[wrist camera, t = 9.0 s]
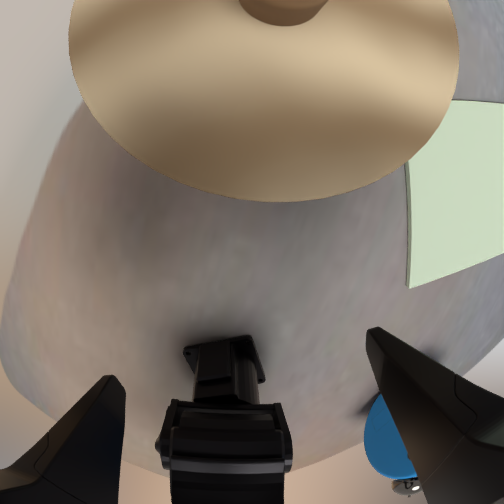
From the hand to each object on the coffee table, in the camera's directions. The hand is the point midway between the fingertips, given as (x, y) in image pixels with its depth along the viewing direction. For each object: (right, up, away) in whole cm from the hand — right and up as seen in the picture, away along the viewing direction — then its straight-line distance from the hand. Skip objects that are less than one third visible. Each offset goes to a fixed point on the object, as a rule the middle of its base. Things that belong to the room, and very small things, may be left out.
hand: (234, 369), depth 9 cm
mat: (+21, +10, +11) cm, 25 cm away
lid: (+2, +14, -1) cm, 14 cm away
